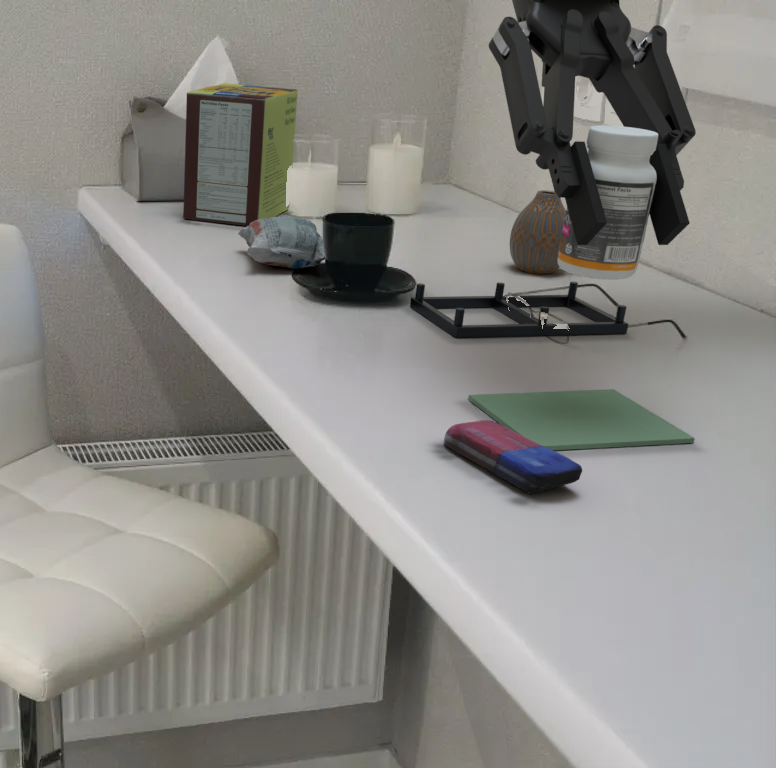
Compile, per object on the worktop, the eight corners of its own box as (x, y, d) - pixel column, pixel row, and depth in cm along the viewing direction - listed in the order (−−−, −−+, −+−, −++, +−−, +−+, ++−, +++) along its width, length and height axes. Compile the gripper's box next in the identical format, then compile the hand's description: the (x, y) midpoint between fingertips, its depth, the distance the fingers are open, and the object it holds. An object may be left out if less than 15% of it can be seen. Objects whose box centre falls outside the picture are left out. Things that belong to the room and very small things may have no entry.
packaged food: (245, 274, 125) (249, 227, 123) (237, 249, 135) (240, 206, 133) (326, 278, 126) (331, 232, 124) (311, 253, 136) (315, 210, 134)
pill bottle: (560, 259, 89) (585, 121, 84) (638, 269, 87) (668, 129, 83) (551, 274, 84) (577, 129, 79) (633, 285, 82) (665, 138, 78)
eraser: (434, 442, 83) (436, 418, 82) (480, 435, 85) (483, 412, 84) (535, 500, 74) (539, 474, 73) (585, 491, 75) (590, 466, 75)
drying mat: (612, 393, 95) (613, 388, 95) (694, 443, 86) (695, 438, 86) (467, 399, 92) (468, 394, 92) (535, 451, 82) (536, 446, 82)
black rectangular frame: (569, 304, 121) (573, 280, 120) (626, 333, 112) (632, 308, 111) (409, 306, 117) (412, 282, 116) (455, 338, 107) (459, 311, 106)
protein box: (290, 209, 161) (299, 88, 154) (258, 228, 147) (266, 97, 141) (218, 200, 163) (223, 82, 156) (180, 219, 150) (184, 90, 143)
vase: (500, 261, 138) (512, 185, 134) (559, 265, 138) (572, 188, 134) (510, 275, 132) (523, 195, 128) (572, 279, 132) (586, 199, 128)
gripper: (639, 10, 93) (716, 262, 87) (423, -3, 89) (487, 264, 82) (694, -65, 87) (783, 203, 80) (463, -84, 82) (536, 201, 75)
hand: (633, 233), depth 81 cm, fingers closed on pill bottle, 6 cm apart
